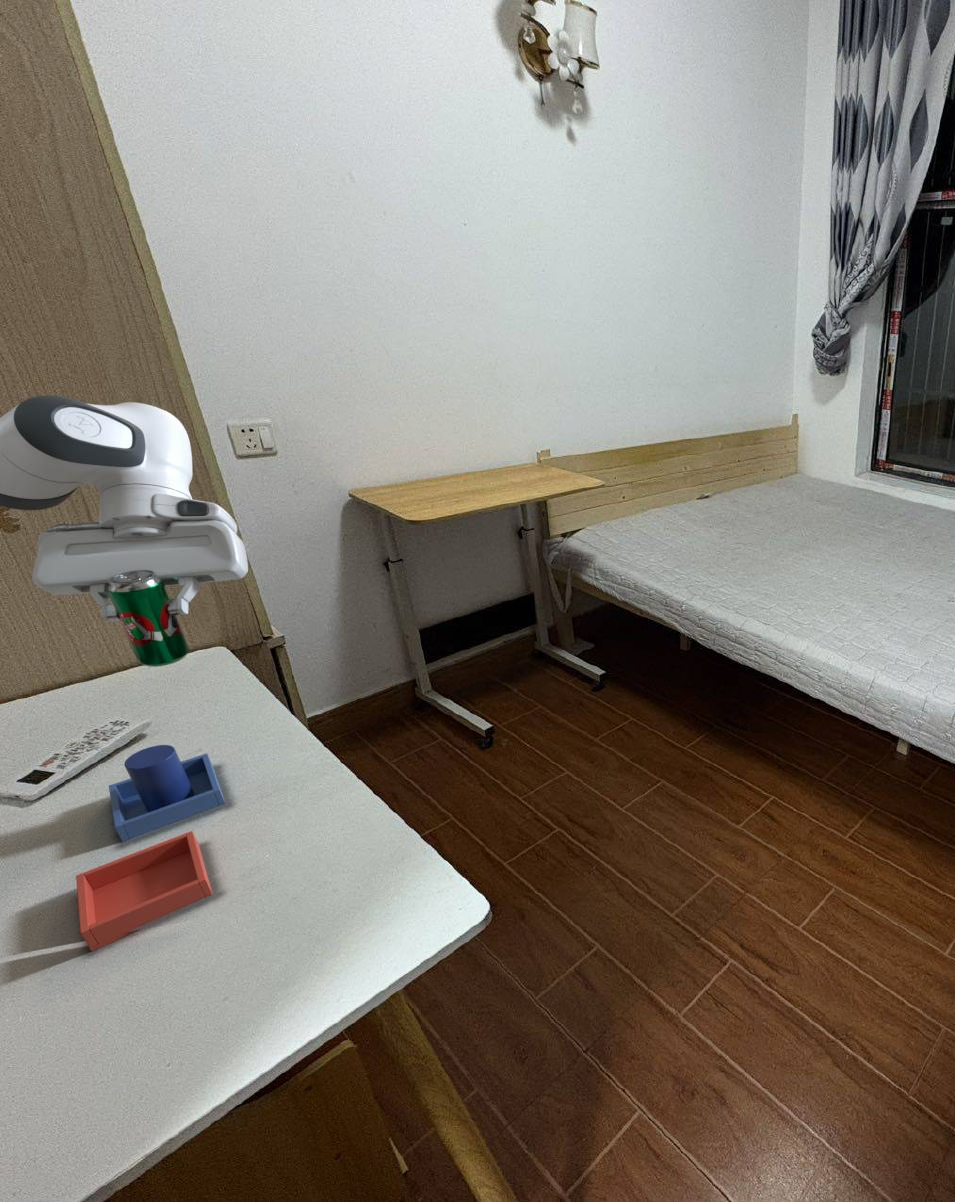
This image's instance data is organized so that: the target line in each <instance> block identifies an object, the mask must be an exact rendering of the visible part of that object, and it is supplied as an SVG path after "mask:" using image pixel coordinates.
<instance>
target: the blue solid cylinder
mask: <svg viewBox="0 0 955 1202" xmlns="http://www.w3.org/2000/svg"><path fill="white" fill-rule="evenodd" d="M181 762H182V761H181V760H180V758H179V755H178V753H177V750H176V749H175V747H174V746H172V745H169V744H158V745H153V746H149V747H146V748H143V749H141V750H138V751H137V752H134V753H133V754H131V755H129V756H128V757H127V759H125V761H124V768H125V770H126V772H127V773H128V776H129V777H130V778H131V780H132V782H133V784H134V786H135V788H136V790H137V792H138V794H139V796H140V798H141V800H142V802H143V804H144V806H145V808H146V810H147V811H148V812H152V811H154V810H157V809H160V808H163V807H166V806H168V805H171V804H174V803H177V802H179V801H182V800H185V799H188V798H191V797H193V796H194V791H193V789H192V787H191V784H190V782H189V780H188V778H187V775H186V773H185V771H184V769H183V766H182V764H181ZM130 778H129V779H130Z"/></svg>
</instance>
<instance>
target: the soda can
mask: <svg viewBox="0 0 955 1202" xmlns="http://www.w3.org/2000/svg"><path fill="white" fill-rule="evenodd" d="M108 583H109V586H108V588H107V591H108V593H109V596H110V598H109V599H110V600H111V603H112V605H114V607H115V609H116V612H117V614H118V616H119V619H120V621H119V622H120V623H121V625H122V628H123V630H124V633H125V635H126V637H127V639H128V642H129V644H130V647H131V648H132V651H133V653H134V656H135V658H136V661H137V662H138V663H139V664H141V665H143V666H145V667H152V668H156V667H163V666H164V667H165V666H168V665H169V666H170V665H172V664H176V663H178V662H180V661H182V660H183V659H185V658H186V656H188V654H189V652H190V647H189V645H188V641H187V639H186V637H185V634H184V632H183V629H182V627H181V624H180V621H179V619H178V617H177V616H178V615H172V614H170V613H169V612H168V609H167V607H168V606H169V605H168V599H171V598H170V596H169V593H168V591H167V588H166V586H165V585H164V583H163V580H162V579H161V578H160V577H158V576H157V575H156V573H155V572H154V571H151V570H136V571H129V572H125V573H121V574H118V575H115V576H113V577H111V578H109V579H108Z"/></svg>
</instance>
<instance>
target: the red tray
mask: <svg viewBox="0 0 955 1202" xmlns="http://www.w3.org/2000/svg"><path fill="white" fill-rule="evenodd" d="M75 880H76V892H77V906H78V919H79V931H80V933H79V934H80V935H81V937H82V938H83V940H84V941H85V943H86V945H87V946H88V948H89V950H90V951H91V952H94V951H97V950H98V949H101V948H103V947H106V946H107V945H110V944H112V943H114V942H116V941H119V940H121V939H123V938H125V937H128V936H130V935H132V934H135V933H136V932H139V931H140V929H138V928H140V927H143V926H145V925H147V924H149V923H152V922H153V921H156V920H159V919H161V918H163V917H165V916H167V915H169V914H172V913H174V912H176V911H178V910H179V911H180V910H181V909H183V908H185V907H188V906H189V905H192V904H194V903H196V902H199V901H202V900H203V899H206V898H208V897H210V896H213V891H212V887H211V883H210V879H209V876H208V873H207V870H206V865H205V861H204V858H203V855H202V851H201V847H200V844H199V842H198V840H197V838H196V836H195V833H194V831H193V830H191V831H188V832H185V833H183V834H180V835H177V836H175V837H172V838H170V839H168V840H165V841H162V842H158V843H156V844H154V845H152V846H149V847H147V848H144V849H141V850H139V851H136V852H134V853H130V854H129V855H125V856H123V857H120V858H118V859H115V860H112V861H110V862H108V863H105V864H103V865H100V866H97V867H95V868H92V869H90V870H87V871H85V872H82V873H79V874H77V875H75ZM135 929H136V930H135Z"/></svg>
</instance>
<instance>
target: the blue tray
mask: <svg viewBox="0 0 955 1202" xmlns="http://www.w3.org/2000/svg"><path fill="white" fill-rule="evenodd" d="M180 762H181V764H182V766H183V769H184V771H185V773H186V775H187V778H188V780H189V782H190V784H191V787H192V789H193V791H194V796H193V797H191V798H188V799H185V800H182V801H179V802H177V803H174V804H171V805H168V806H166V807H163V808H160V809H157V810H154V811H152V812H148V811H147V810H146V808H145V806H144V804H143V802H142V800H141V798H140V796H139V794H138V792H137V790H136V788H135V786H134V784H133V782H132V780H131V778H127V779H124V780H121V781H119V782H116V783H112V784H110V785H108V792H109V798H110V805H111V811H112V818H113V824H114V829H115V831H116V833H117V835H118V836H119V838H120V840H121V842H122V843H124V842H127V841H129V840H132V839H135V838H138V837H140V836H143V835H147V834H148V833H151V832H154V831H156V830H159V829H162V828H164V827H168V826H169V825H172V824H174V823H177V822H180V821H183V820H186V819H189V818H190V817H193V816H196V815H198V814H202V813H204V812H207V811H210V810H212V809H215V808H218V807H221V806H223V805H225V804H226V800H225V798H224V795H223V792H222V789H221V786H220V784H219V780H218V776H217V773H216V772H215V769H214V765H213V764H212V761H211V759H210V756H209V754H208V752H207V753H204V754H200V755H197V756H195V757H191V758H189V759H188V758H187V759H185V760H182V761H180Z"/></svg>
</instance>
